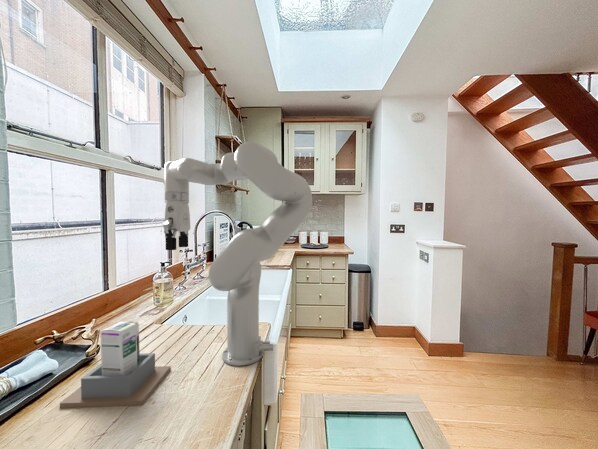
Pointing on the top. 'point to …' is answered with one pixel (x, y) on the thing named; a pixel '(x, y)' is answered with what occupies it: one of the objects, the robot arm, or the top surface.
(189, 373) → the top surface
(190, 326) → the top surface
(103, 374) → the syrup box
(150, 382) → the caddy
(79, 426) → the top surface
